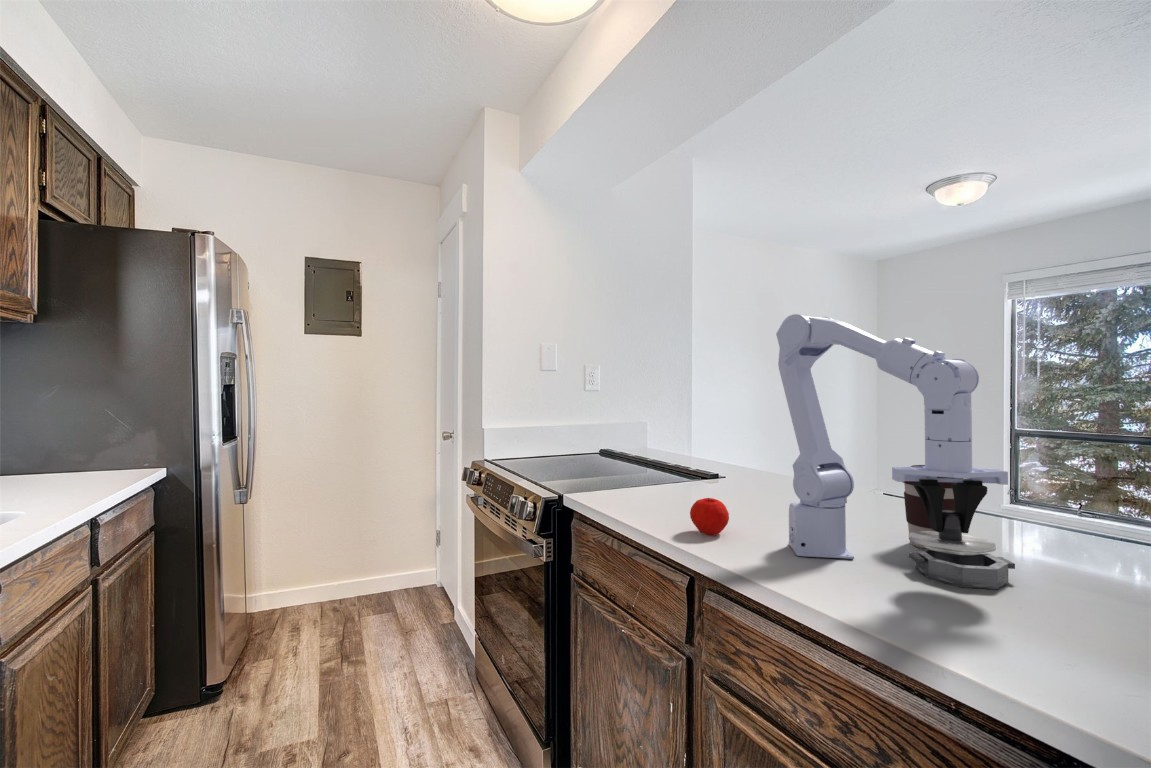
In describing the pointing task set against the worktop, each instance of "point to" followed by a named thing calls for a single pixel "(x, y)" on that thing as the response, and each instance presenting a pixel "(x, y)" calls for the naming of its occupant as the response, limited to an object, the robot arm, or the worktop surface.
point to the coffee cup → (916, 509)
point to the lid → (952, 538)
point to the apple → (709, 516)
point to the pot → (963, 568)
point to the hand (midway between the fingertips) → (948, 530)
